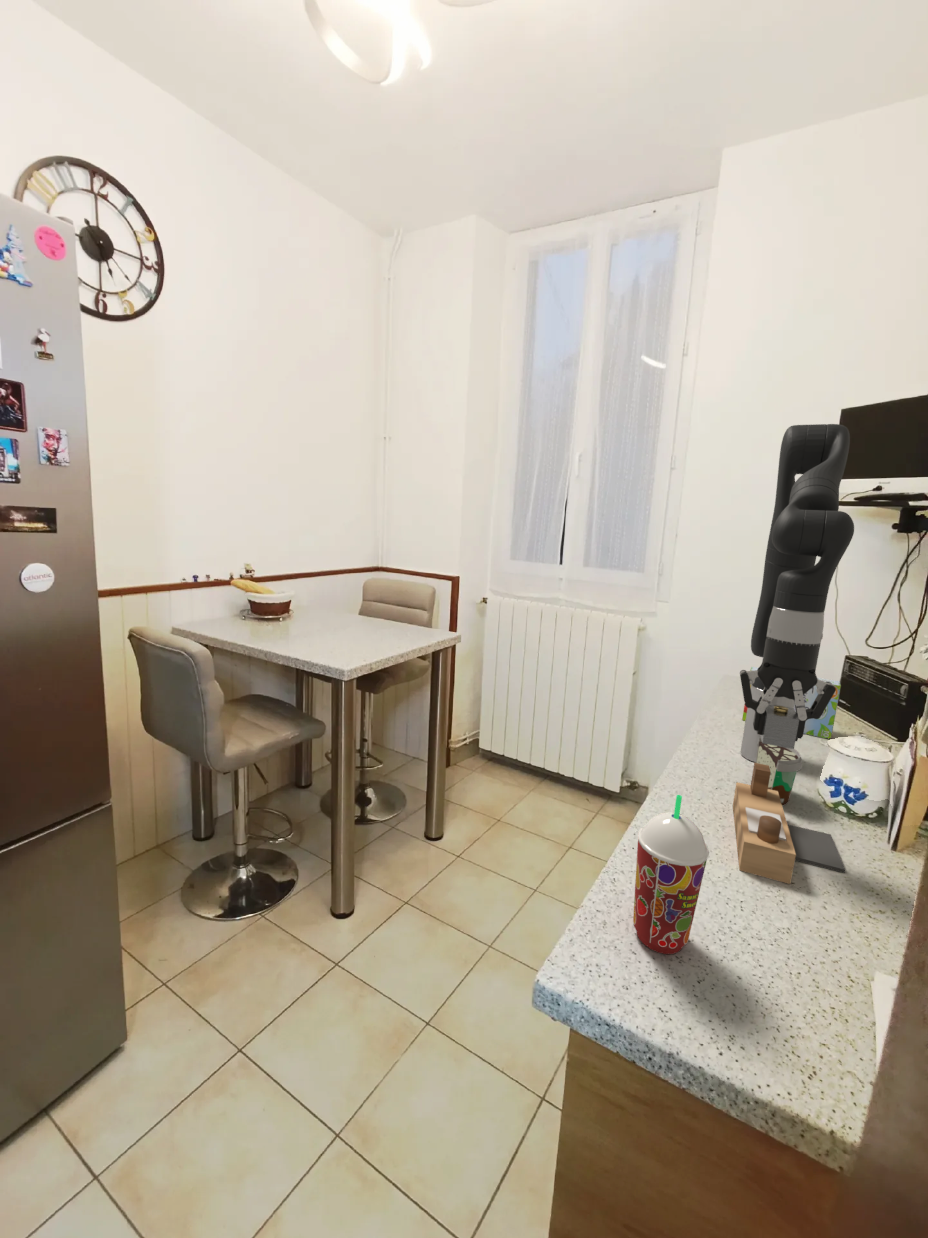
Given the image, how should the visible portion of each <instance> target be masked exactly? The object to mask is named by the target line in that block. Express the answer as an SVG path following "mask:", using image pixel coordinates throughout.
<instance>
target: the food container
mask: <svg viewBox="0 0 928 1238" xmlns="http://www.w3.org/2000/svg"><path fill="white" fill-rule="evenodd" d="M757 746H758V750H757V757H756V762H755V763H759V764H764V765H769V768H770V771H771V773H770V779H769V785H768V789H771V790H775V791H778V793H779V797H780V800H781V804H782V807H784V806H786V805H787V804H788V803H789V801H790V797H791V793H792V790H793V786H794V784H795V779H796V776H797V772H798V771H801V770H802V768H803V760H802V757H801V754H800V752H799V751H798V750H797V749H795V748H794V749H790V748H785V747H780V746H775V745H769V744H764V743H762V740H761V738H759V740H758V743H757Z"/></svg>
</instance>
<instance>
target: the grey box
mask: <svg viewBox="0 0 928 1238" xmlns="http://www.w3.org/2000/svg"><path fill="white" fill-rule="evenodd" d="M764 713H765V719H764V725H763V731H762V735H760V736H761V740H762V743H764V744H769V745H775V746H780V747H785V748H790V749H795V744H796V741H795V740H796V735H797V729H798V724H799V718H798V716H797V714H796V712H795V710H794V708H790V707H784V706H777V705H771V704H769V705H768V706H767V708H766V710H765V712H764Z"/></svg>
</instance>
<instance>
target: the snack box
mask: <svg viewBox="0 0 928 1238" xmlns="http://www.w3.org/2000/svg"><path fill="white" fill-rule="evenodd" d="M758 668H759V667H754V666H751V667H750V670H749V671H755V670H758ZM817 679H818V680H821V681H823V682H830V683H832V684H833V686H834V687H835V688H836V691H835V693H834V694H833V696H832V698H831V700H830V701H829V703H828V705H827V706H826V708H825V710H824V712H823V713H822V715H821V717H820V718H819V719H814V718H813V719H808V720H806V722H805V727H804V732H803V735H809V736H813V737H817V738H823V739H826V738H828V739H827V740H830V739H829V738H831V739H832V735H833V731H834V724H835V721H836V714H837V709H838V704H839V699H840V693H841V687H842V685H841V681H839V680H833V679H827V678H823V677H817ZM750 688H751V684H750ZM816 689H817V686H816V685H815V686H814V687H812V688H811V689H810V690H809V691H807V692H806V693H805V694H804V695H803V697H804V702H805V709H810V708H811V706H812V704H813V702H814V701H815V699H816V697H817V695H818V693H817V691H816ZM794 710H795V705H794ZM795 712H796V710H795ZM746 714H747V707H746V706H745V703H744V705H743V712H742V719H741V720H742V721H744V722H745V720H746Z"/></svg>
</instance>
